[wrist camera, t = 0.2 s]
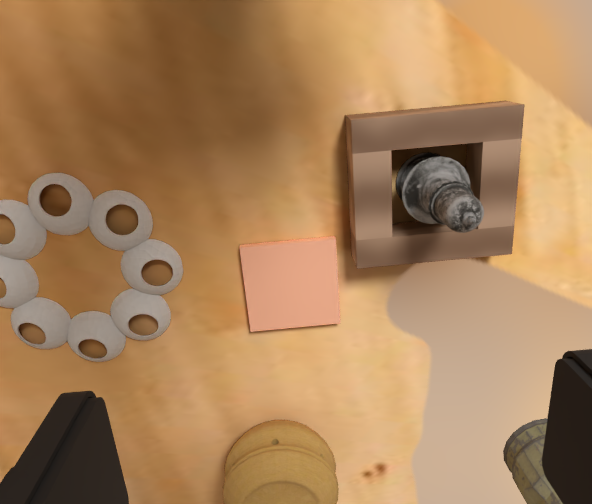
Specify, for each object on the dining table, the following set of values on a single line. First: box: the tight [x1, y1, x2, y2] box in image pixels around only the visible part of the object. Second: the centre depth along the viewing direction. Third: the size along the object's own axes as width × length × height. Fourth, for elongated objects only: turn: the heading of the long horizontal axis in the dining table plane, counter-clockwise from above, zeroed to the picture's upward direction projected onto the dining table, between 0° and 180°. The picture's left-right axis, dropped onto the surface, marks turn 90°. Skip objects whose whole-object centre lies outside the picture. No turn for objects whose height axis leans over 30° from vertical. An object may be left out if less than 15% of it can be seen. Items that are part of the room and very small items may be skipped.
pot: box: [223, 420, 338, 504], centre depth 52 cm, size 12×12×10 cm
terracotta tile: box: [240, 236, 340, 332], centre depth 49 cm, size 9×9×1 cm
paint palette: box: [0, 173, 183, 362], centre depth 47 cm, size 20×20×2 cm
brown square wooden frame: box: [345, 101, 524, 269], centre depth 44 cm, size 13×14×4 cm
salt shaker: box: [396, 152, 484, 233], centre depth 40 cm, size 6×6×12 cm
